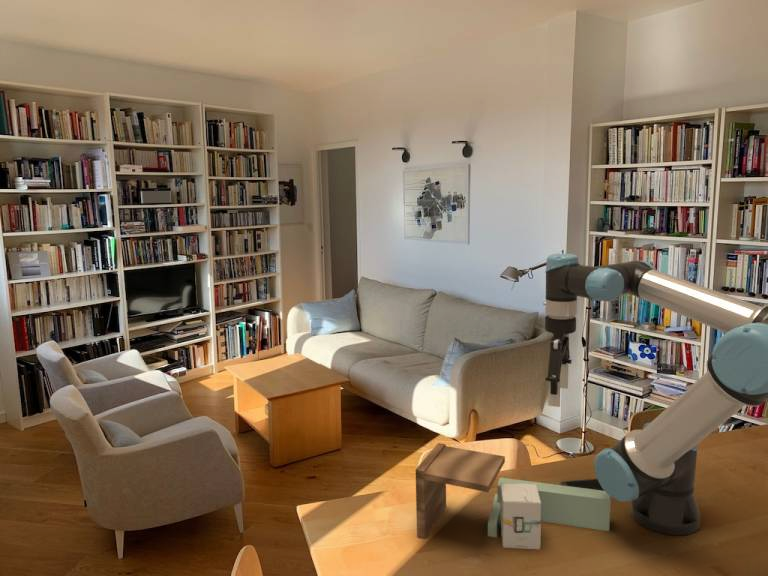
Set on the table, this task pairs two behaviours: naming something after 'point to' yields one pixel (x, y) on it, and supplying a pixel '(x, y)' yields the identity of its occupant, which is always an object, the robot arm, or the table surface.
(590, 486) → the cell phone
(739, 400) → the robot arm
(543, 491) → the sage green box
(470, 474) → the shelf
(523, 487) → the ink box
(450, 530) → the table surface
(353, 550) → the table surface
